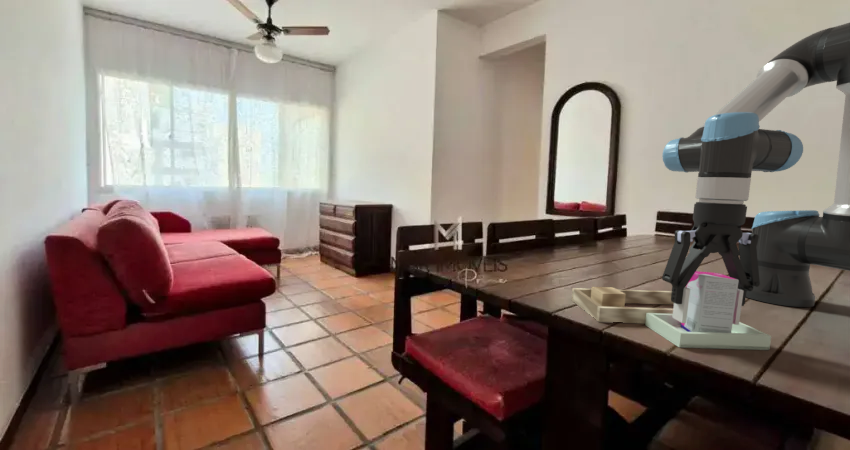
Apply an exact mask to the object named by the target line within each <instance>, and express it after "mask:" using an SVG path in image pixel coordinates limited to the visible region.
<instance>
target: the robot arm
mask: <svg viewBox="0 0 850 450" xmlns="http://www.w3.org/2000/svg"><path fill="white" fill-rule="evenodd" d="M830 82H831V83H832V82H836V83H835V84H836V87H835V88H836V90H838V91H840V92H841V93H843V95H844V96H845V97H844V106H843V114H842V125H841V135H840V143H839V153H838V162H837V171H836V180H835V190H834V199H833V203H832V204H831V205H830V206H828V207H827V208H825V209H824V210H823V211H822V216H820V213H819V211H817V210H812V209H809V210H807V209H806V210H804V209H803V210H774V211H773V210H771V211H767V210H766V211H761V212H759V213H756V214H755V216H754V220H753V223H752V227H751V232H747V231H744V232H743V230H742V226H743V225H744V224H745V223H746V219H747V211H748V206H747V205H746V204H745V203H744V202H747V201H748V200H749V198H750V190H751V183H752V172H764V173H774V172H775V173H776V172H782V171H786V170H788V169H790V168H792V167H793V166H795V165H796V164H797V163H798V162H799V161H800V159H802V156H803V153H804V143H803V142H802V140H801V139H800V138H799V136H797V135H796V134H793V133H791V132H786V131H784V130H781V129H777V130H775V129H774V130H773V129H765V128H764V129H763V128H760V121H762V120H763V119H764V118H766V116H767V115H768V114H769V113H771V112H772V111H773V110H775V108H776V107H778V105H780V104H781V103H782V102H783V101H784V100H785V99H787V98H790V97H794V96H795V95H797V94H798V93H800V92H802V91H803V90H804V89H805V88H808V87H812V86H815V85H820V84H825V83H830ZM661 158H662V162H663V164H664V167H665V168H666V169H668V170H669V171H671V172H679V173H680V172H681V173H693V172H694V173H698V176H697V179H696V180H697V182H696V188H695V189H696V192H695V199H696V200H698V201H696V202H695V203H694V205H693V211H692V212H693V213H692V221H693V226H692V228H691V230H680V229H677V230H675V231H674V242H673V246H672V249H671V252H670V254H669V257H668V260H667V262H666V264H665V268H664V271H663V273H662V276H661V279H662V281H664V282H666V283H669V284H670V285H671V291H672V293H671V301H672V302H673V303H674V305H673V308H672V309H673V315H672V318H674V319H676V320H677V321H679V322H681V323H686V319H687V311H688V303H689V295H690V289H689V288H687V287H686V285H687V284H688V282H689V281H690V279H691V278H692V276H693V275H694V273H695V272H696V271H698V269H699V267H700V265H701V264H702V262H703V260H705V258H707V257H709V256H710V255H711V254H717V253H718V254H719V255H720V256H721V259H722V260H723V263H724V267H725V268H726V271H727V274H728V276H729V277H732V278H735V279H737V280H739V282H738V289H737V296H736V302H735V309H734V316H733V324H735V325H739V322H741V321H740V320H741V319H740V318H741V314H742V313H741V312H742V307H744V306H745V304H746V298H748V299H752V300H755V301H758V302H759V301H760V302H763V303H768V304H773V305H779V306H786V307H794V308H795V307H796V308H810V307H814V306H815V302H816V294H815V293H813V286H812V282H811V278H810V268H811V265H813V266H819V267H826V268H830V269H831V268H832V269H836V270H842V271H848V272H850V22H848V23H844V24H841V25H836V26H833V27H829V28H825V29H822V30H818V31H816V32H814V33H812V34H809V35H808V36H805V37H804V38H802V39H801V40H798V41H797V42H795V43H794V44H792V45H791V46H788V47H787V48H785V49H784V50H783V51H781V52H780V53H778V54H777V55H776V56H774V57H773V58H772V59H771V60H769V61H768V62H767V63H766V64H764V65H763V66H762V67H761V68H760V70H758V73H757V74H756V78H755V79H754V80H753V81H751V82H750V83H749V84H748V85H747V86H746V87H745V88H744V89H742V90H741V91H740V92H738V93H737V94H736V95H735V96H734V97H732V99H731V100H730V101H728V103H726V104H725V105H724V106H723V107H721V108H720V109H719V110H718V111H717V112H715V114H713V115H711V116H709V117H708V118H706V120H705V122H704V123H703V124H702V125H701V126H699V128H697V129H696V130H695V131H694V132H693V133H691V134H690V135H689V136H687V137H679V138H675V139H671V140H670V141H668V142H667V143H666V145H665V146H664V148H663V150H662V157H661ZM691 243H692V244H691ZM737 244H738V246H737Z"/></svg>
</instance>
